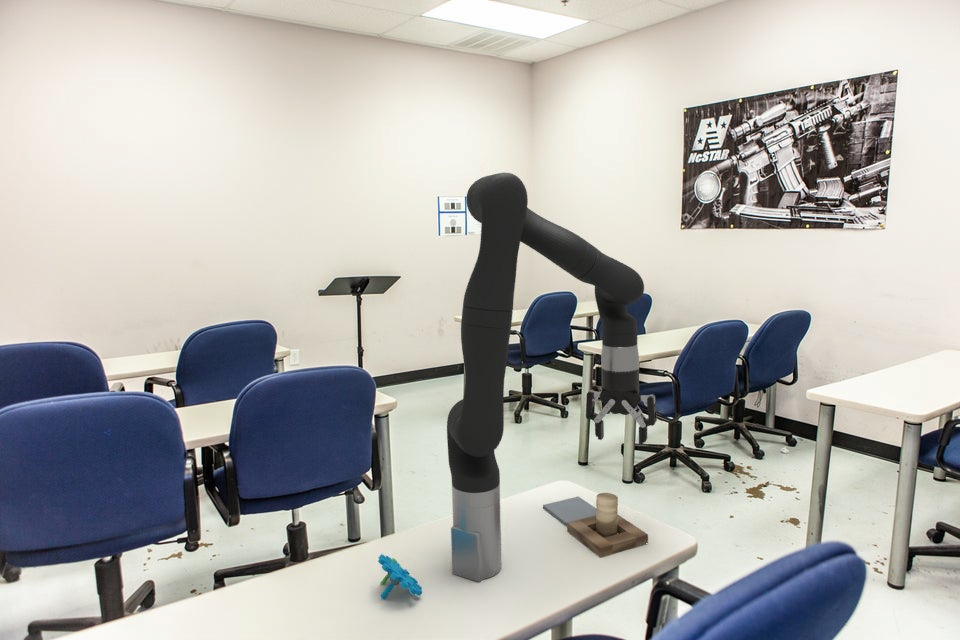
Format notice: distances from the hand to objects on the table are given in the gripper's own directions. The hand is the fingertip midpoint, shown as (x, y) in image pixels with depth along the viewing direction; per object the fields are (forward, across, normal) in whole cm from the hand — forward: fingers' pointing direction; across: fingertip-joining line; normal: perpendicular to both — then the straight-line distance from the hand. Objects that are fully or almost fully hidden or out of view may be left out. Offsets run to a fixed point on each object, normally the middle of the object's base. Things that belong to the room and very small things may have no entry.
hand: (621, 441), depth 126 cm
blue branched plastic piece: (+20, -32, -38) cm, 53 cm away
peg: (+21, -3, -3) cm, 21 cm away
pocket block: (+21, -3, -3) cm, 21 cm away
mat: (+21, -13, +5) cm, 25 cm away
